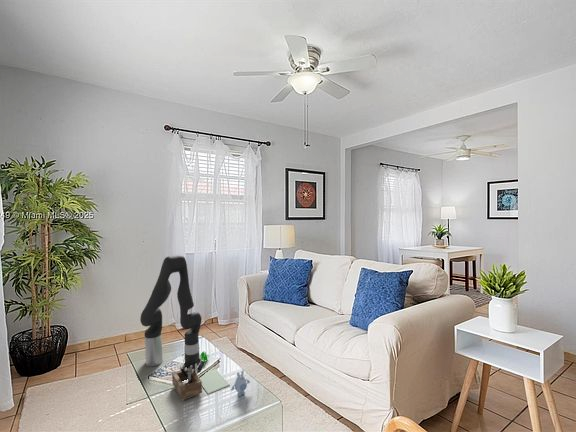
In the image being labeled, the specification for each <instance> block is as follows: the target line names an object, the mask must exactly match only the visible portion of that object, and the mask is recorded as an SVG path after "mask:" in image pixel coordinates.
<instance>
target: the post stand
mask: <svg viewBox="0 0 576 432" xmlns="http://www.w3.org/2000/svg"><path fill="white" fill-rule="evenodd" d="M187 371H188V381H187V384H190V383H191V368H190V367H189V368H188V369H187Z"/></svg>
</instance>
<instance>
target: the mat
mask: <svg viewBox="0 0 576 432" xmlns="http://www.w3.org/2000/svg"><path fill="white" fill-rule="evenodd" d="M204 373H205V374H204ZM204 373H203V374H204V375H203V376H202V377H201V378H200V380H201V381H202V389H204V391H205V392H206V394H207V395H209V394H212V393H215V392H217V391H219V390H220V391H221V389H224V388H227V387H229V386H230V383H229V382H228V381H227V380H226V379H225V377H224V376H222V374H221V373H220V372H219V371H218V370H217V369H216V368H215V369H212V370H210V371H207V372H204Z"/></svg>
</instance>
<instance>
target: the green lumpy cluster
mask: <svg viewBox="0 0 576 432" xmlns="http://www.w3.org/2000/svg"><path fill="white" fill-rule="evenodd" d="M199 356H200V360H204V362H205V363H206V361H205V360H208V358H210V356H209V354H207V352H206V351H202V352H200V354H199ZM182 361H183V363H184V362H185V357H184V358H183V360H182Z"/></svg>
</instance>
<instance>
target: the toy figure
mask: <svg viewBox="0 0 576 432" xmlns="http://www.w3.org/2000/svg"><path fill="white" fill-rule="evenodd" d="M240 373H241V374H240ZM244 374H245V371H244V370H242V371H240V372H237V374H236V376H237V377H236V379H235V382H234V384H233V386H231V389H230V390H231V391H234V390H236V392H237V394H236V395H237V396H238V397H240V396H242V395H245V393H246V389H247V387H248V385H247V384H250V383H251V380H249V379H247V378H245V376H244Z"/></svg>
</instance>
